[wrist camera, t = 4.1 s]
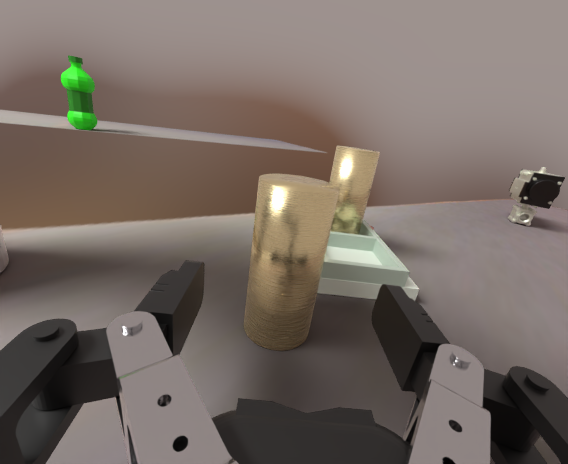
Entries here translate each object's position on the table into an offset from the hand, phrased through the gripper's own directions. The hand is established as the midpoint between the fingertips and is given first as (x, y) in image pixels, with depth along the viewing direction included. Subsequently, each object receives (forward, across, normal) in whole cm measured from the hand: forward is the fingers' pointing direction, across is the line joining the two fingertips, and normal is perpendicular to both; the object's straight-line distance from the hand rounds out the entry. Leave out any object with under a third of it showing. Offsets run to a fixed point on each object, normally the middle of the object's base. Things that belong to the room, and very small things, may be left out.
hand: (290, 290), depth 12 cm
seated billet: (+20, -7, +5) cm, 21 cm away
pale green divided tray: (+16, -7, +6) cm, 19 cm away
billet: (+5, 0, +6) cm, 8 cm away
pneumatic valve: (+46, -52, +6) cm, 70 cm away
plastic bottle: (+108, +80, +7) cm, 134 cm away
